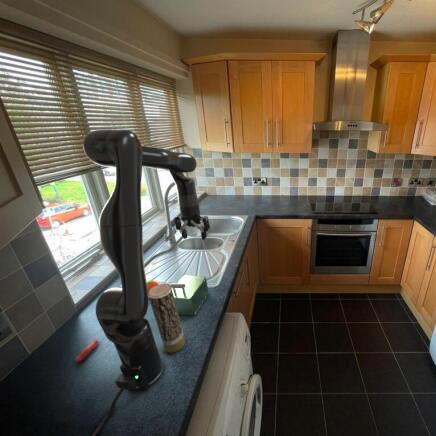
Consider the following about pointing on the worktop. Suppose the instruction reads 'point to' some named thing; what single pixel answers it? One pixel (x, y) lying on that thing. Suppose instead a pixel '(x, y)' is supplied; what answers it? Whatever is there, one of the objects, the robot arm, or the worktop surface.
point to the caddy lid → (187, 287)
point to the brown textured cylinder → (167, 317)
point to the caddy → (193, 301)
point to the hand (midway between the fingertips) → (194, 238)
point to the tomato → (151, 284)
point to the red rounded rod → (87, 351)
